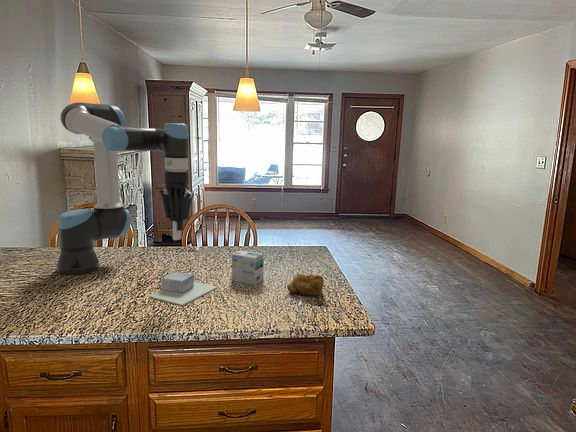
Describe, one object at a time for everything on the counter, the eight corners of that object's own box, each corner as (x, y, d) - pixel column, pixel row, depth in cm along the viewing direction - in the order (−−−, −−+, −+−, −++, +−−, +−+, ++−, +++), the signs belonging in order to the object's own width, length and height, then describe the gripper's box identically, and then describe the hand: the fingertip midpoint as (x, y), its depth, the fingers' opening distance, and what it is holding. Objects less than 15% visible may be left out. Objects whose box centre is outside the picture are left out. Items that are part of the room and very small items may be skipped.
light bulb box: (263, 280, 159) (264, 253, 157) (255, 285, 153) (255, 258, 151) (240, 275, 164) (240, 249, 162) (230, 280, 158) (231, 253, 156)
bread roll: (285, 296, 145) (286, 274, 143) (289, 286, 154) (290, 266, 153) (322, 299, 143) (323, 277, 141) (324, 289, 152) (325, 269, 151)
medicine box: (160, 289, 144) (182, 293, 142) (160, 277, 144) (182, 281, 141) (173, 282, 152) (194, 286, 149) (173, 271, 151) (194, 274, 149)
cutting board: (149, 297, 139) (149, 296, 139) (186, 281, 156) (186, 279, 156) (182, 306, 133) (182, 304, 133) (217, 288, 150) (217, 286, 150)
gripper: (153, 169, 137) (154, 238, 142) (184, 172, 131) (184, 244, 136) (169, 168, 144) (170, 234, 148) (199, 171, 138) (199, 239, 143)
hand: (177, 239), depth 142 cm, fingers closed
